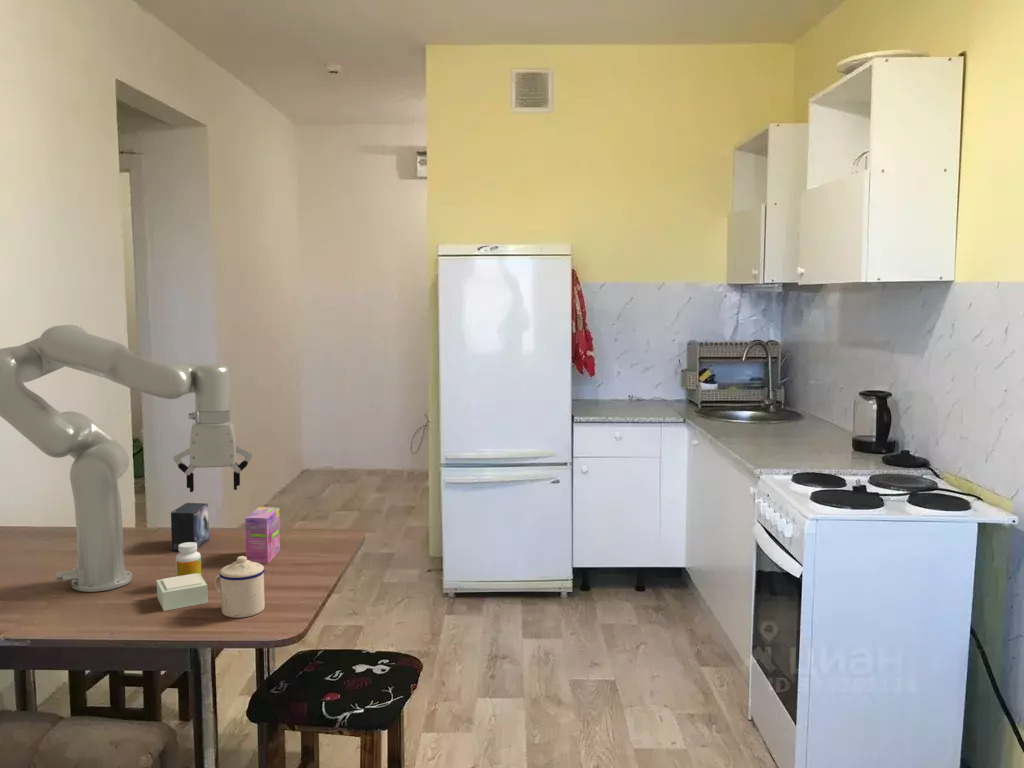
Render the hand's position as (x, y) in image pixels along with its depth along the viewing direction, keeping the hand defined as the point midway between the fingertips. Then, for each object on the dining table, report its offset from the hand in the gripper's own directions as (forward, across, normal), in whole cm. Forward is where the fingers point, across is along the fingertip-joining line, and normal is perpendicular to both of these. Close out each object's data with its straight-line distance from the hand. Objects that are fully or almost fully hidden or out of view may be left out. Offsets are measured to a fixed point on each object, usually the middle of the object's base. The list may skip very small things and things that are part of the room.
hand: (213, 489), depth 194 cm
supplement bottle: (+21, -5, -5) cm, 22 cm away
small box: (+22, -7, +28) cm, 36 cm away
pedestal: (+21, -6, -14) cm, 26 cm away
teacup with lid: (+21, +5, -23) cm, 32 cm away
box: (+21, +11, +12) cm, 27 cm away
